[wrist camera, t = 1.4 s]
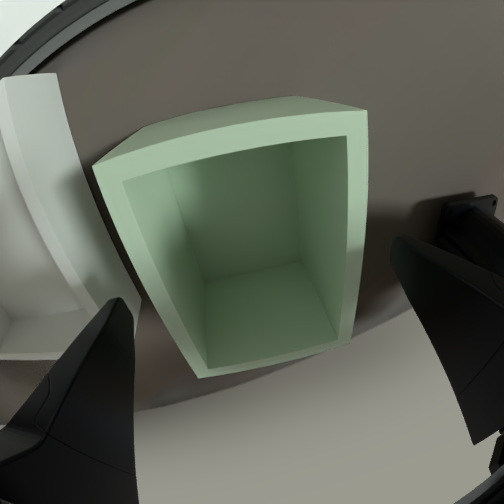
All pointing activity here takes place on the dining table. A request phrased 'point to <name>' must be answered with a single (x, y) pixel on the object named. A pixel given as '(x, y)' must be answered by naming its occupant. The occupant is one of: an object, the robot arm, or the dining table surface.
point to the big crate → (49, 229)
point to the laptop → (44, 28)
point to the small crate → (246, 227)
